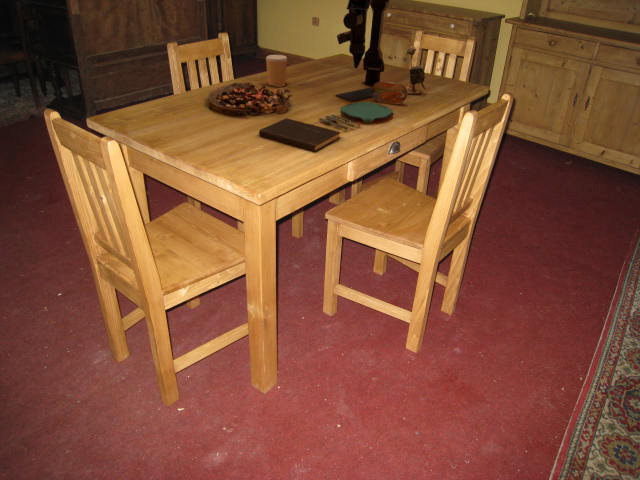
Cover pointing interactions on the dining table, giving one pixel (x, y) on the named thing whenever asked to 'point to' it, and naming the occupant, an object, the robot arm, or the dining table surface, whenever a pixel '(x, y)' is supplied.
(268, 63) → the glass of beer
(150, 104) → the dining table surface
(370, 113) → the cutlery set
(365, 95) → the placemat
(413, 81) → the plant with pod
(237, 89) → the food dish
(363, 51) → the robot arm
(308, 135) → the hardcover book
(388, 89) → the tin
